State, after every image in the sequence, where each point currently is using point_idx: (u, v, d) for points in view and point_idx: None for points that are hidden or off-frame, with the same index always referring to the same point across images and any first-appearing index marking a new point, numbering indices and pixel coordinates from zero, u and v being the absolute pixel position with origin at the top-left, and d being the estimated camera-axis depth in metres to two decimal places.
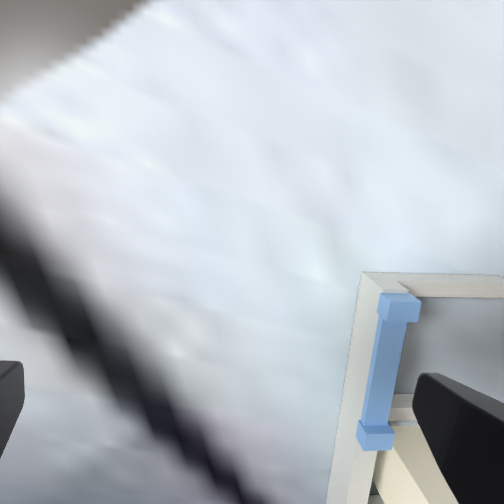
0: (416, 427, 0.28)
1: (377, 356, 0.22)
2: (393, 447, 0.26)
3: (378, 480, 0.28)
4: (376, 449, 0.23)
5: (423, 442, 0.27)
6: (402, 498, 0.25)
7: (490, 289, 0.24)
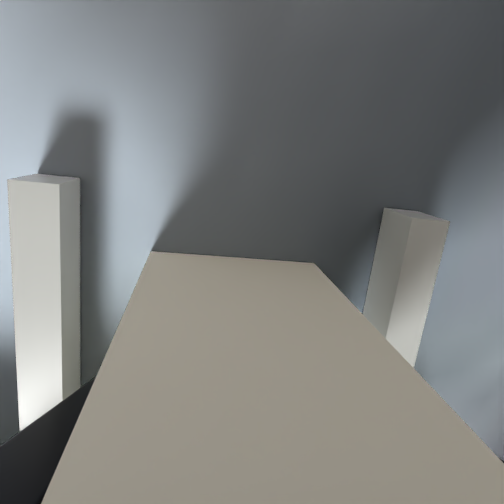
0: None
1: None
2: None
3: None
4: None
5: None
6: None
7: None
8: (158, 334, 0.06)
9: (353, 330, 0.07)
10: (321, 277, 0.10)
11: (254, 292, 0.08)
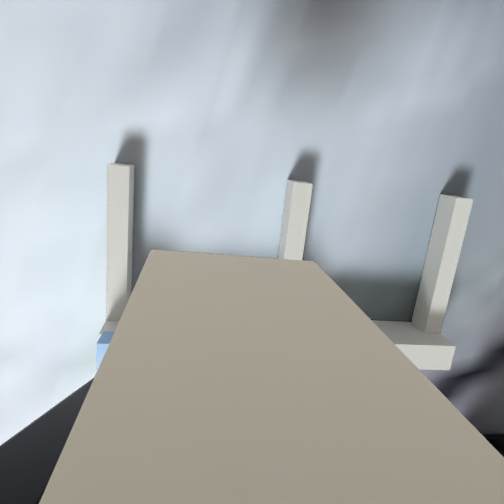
0: None
1: None
2: None
3: None
4: None
5: None
6: None
7: (116, 198, 0.19)
8: (158, 332, 0.06)
9: (355, 328, 0.07)
10: (322, 276, 0.10)
11: (255, 289, 0.08)
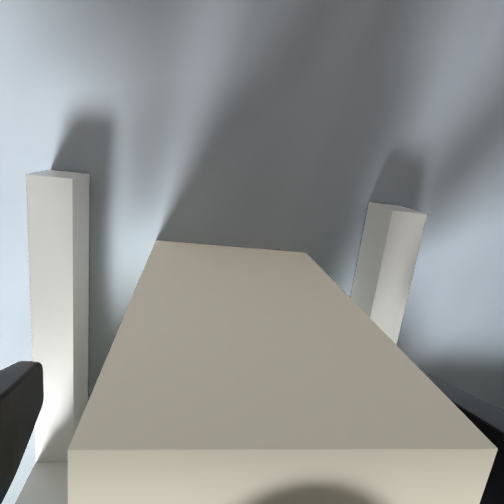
0: None
1: None
2: None
3: None
4: None
5: None
6: None
7: (48, 243, 0.09)
8: (166, 305, 0.07)
9: (337, 306, 0.08)
10: (311, 264, 0.11)
11: (250, 274, 0.09)
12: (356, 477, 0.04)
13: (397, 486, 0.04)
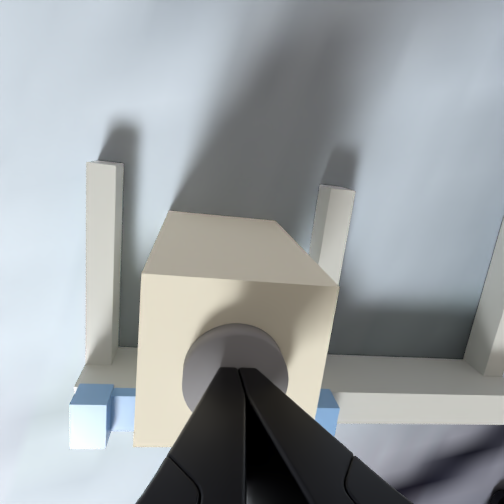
0: None
1: None
2: None
3: None
4: (333, 430, 0.15)
5: None
6: None
7: (99, 208, 0.14)
8: (179, 238, 0.12)
9: (285, 243, 0.13)
10: (276, 226, 0.15)
11: (233, 229, 0.14)
12: (271, 297, 0.09)
13: (291, 304, 0.09)
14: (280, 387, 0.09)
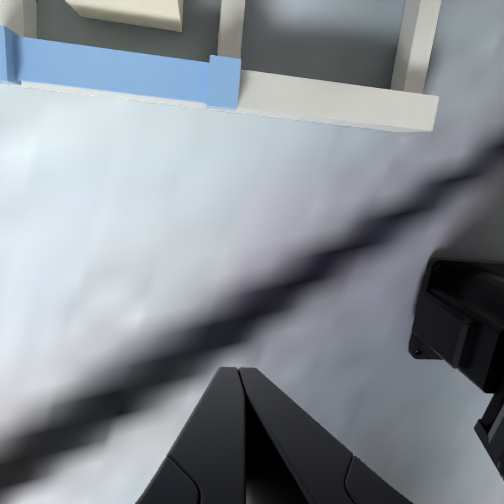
0: None
1: (86, 85, 0.15)
2: (66, 1, 0.16)
3: (164, 22, 0.17)
4: (236, 86, 0.15)
5: None
6: None
7: None
8: None
9: None
10: None
11: None
12: None
13: None
14: None
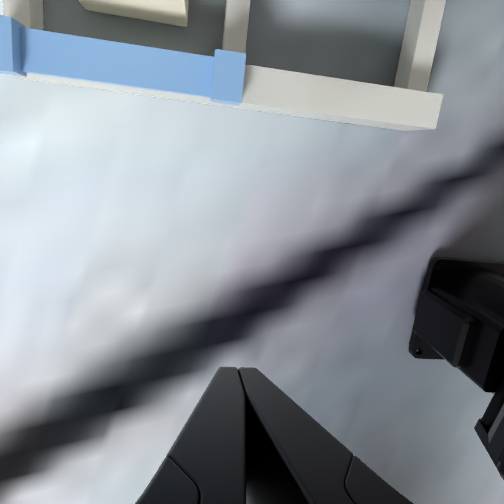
0: None
1: (91, 77, 0.15)
2: None
3: (169, 17, 0.17)
4: (241, 80, 0.15)
5: None
6: None
7: None
8: None
9: None
10: None
11: None
12: None
13: None
14: None
